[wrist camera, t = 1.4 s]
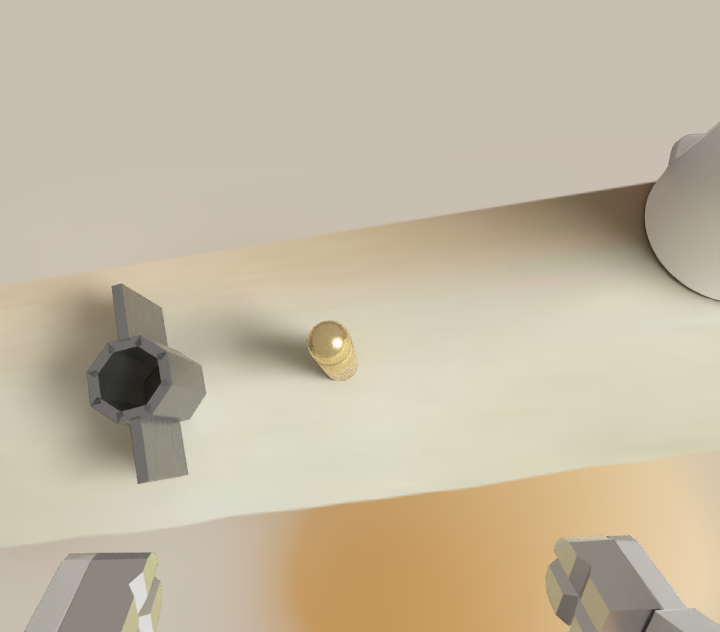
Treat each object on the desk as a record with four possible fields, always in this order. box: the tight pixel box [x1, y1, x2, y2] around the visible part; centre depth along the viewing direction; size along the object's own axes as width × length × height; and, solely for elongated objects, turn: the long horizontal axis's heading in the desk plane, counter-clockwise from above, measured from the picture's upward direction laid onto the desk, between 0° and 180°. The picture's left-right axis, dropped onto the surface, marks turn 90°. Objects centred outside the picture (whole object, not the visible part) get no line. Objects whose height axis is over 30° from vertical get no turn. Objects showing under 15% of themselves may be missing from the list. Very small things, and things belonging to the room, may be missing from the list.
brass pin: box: [307, 321, 357, 381], centre depth 37 cm, size 3×3×11 cm
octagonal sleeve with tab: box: [87, 284, 206, 484], centre depth 39 cm, size 6×15×7 cm, turn 15°
